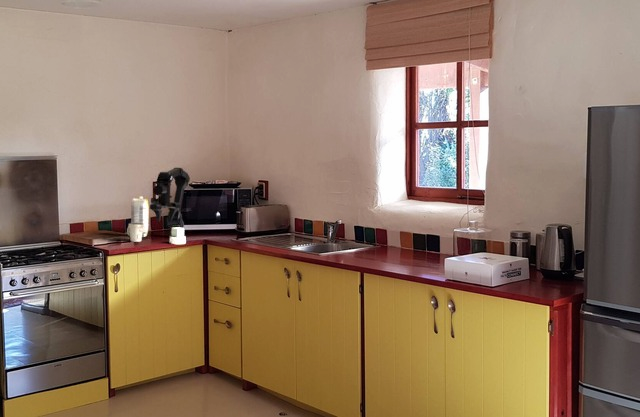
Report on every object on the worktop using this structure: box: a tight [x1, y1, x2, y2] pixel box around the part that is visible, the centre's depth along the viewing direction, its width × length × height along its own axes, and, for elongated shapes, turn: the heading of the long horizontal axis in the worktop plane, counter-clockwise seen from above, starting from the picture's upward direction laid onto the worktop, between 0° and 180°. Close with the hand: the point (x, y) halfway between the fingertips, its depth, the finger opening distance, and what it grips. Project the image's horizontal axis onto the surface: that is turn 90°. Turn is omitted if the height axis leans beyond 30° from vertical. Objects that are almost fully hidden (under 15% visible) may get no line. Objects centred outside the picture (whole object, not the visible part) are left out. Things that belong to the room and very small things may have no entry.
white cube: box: [171, 227, 185, 238], centre depth 428 cm, size 5×5×5 cm
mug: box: [126, 222, 144, 243], centre depth 430 cm, size 8×13×10 cm, turn 53°
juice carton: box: [130, 195, 149, 238], centre depth 446 cm, size 9×8×24 cm
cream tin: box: [169, 235, 187, 245], centre depth 428 cm, size 9×9×4 cm
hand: (164, 220), depth 433 cm, fingers open, 9 cm apart
